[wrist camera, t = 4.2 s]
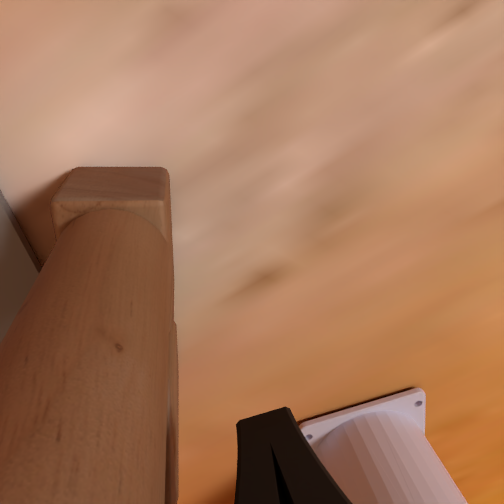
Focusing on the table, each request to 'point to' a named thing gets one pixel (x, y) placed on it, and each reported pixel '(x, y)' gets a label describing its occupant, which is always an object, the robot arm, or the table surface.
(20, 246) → the mat
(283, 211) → the table surface
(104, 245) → the wooden block
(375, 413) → the robot arm
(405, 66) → the table surface
